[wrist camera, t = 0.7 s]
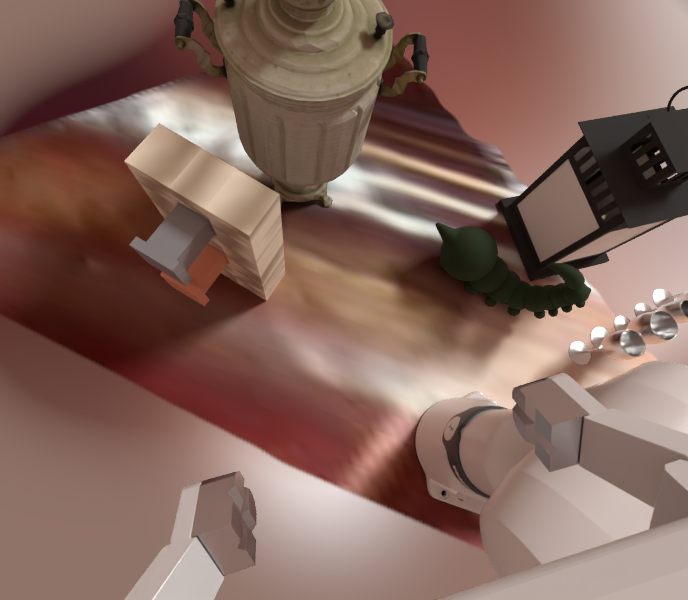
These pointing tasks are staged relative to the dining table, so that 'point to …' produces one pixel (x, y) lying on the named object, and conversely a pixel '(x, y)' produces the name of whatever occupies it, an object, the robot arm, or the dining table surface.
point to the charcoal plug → (176, 243)
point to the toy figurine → (505, 275)
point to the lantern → (603, 191)
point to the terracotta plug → (201, 274)
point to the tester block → (216, 205)
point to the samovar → (302, 80)
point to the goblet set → (636, 329)
